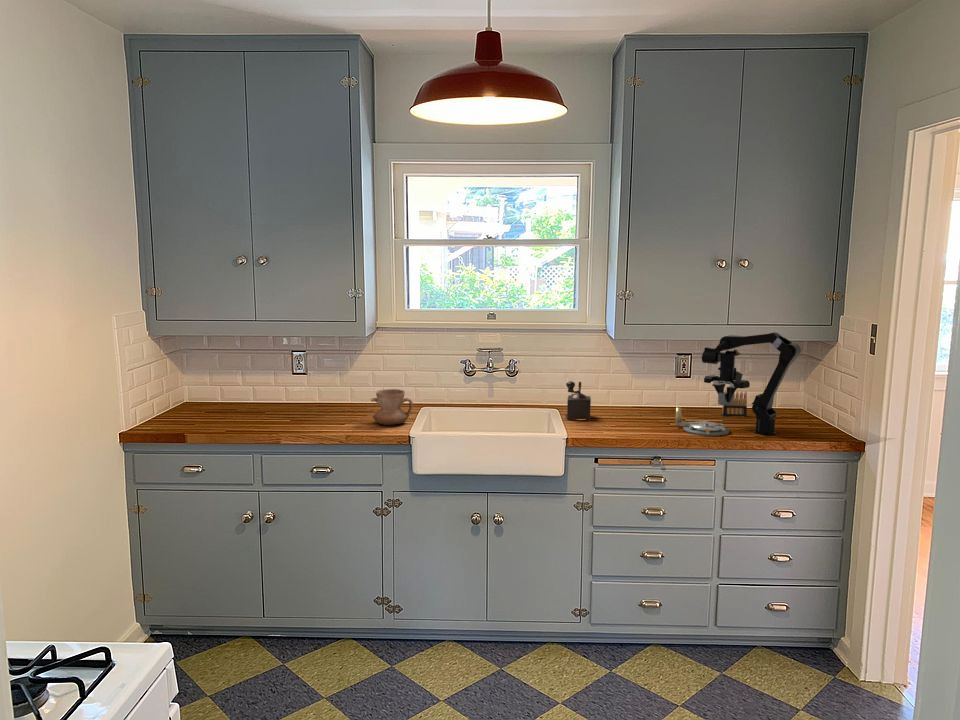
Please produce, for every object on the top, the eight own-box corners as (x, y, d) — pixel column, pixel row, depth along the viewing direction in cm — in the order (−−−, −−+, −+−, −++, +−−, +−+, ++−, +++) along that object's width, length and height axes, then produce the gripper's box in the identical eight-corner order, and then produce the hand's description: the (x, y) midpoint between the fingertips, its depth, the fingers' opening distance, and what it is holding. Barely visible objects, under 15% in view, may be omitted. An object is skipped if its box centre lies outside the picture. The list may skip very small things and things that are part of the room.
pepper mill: (565, 414, 319) (566, 376, 316) (590, 415, 317) (591, 376, 315) (564, 422, 303) (565, 382, 301) (590, 423, 302) (591, 382, 299)
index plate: (738, 432, 287) (738, 430, 286) (708, 438, 277) (708, 435, 277) (703, 424, 302) (703, 421, 302) (674, 429, 292) (674, 426, 292)
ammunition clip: (722, 416, 317) (723, 390, 316) (721, 415, 319) (722, 389, 317) (746, 417, 316) (748, 391, 314) (745, 416, 318) (747, 390, 316)
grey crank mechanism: (728, 426, 292) (729, 409, 291) (722, 434, 279) (723, 416, 278) (679, 420, 302) (680, 404, 301) (671, 428, 289) (671, 411, 288)
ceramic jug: (369, 427, 292) (368, 394, 290) (372, 420, 307) (372, 388, 305) (412, 427, 293) (411, 394, 291) (413, 419, 308) (413, 388, 306)
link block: (732, 403, 296) (733, 392, 295) (724, 405, 292) (724, 393, 292) (726, 402, 298) (726, 391, 298) (717, 404, 295) (718, 392, 294)
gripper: (758, 366, 290) (756, 403, 293) (719, 361, 305) (717, 396, 307) (742, 368, 284) (740, 406, 286) (704, 363, 299) (702, 398, 301)
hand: (725, 401), depth 295 cm, fingers closed on link block, 3 cm apart
